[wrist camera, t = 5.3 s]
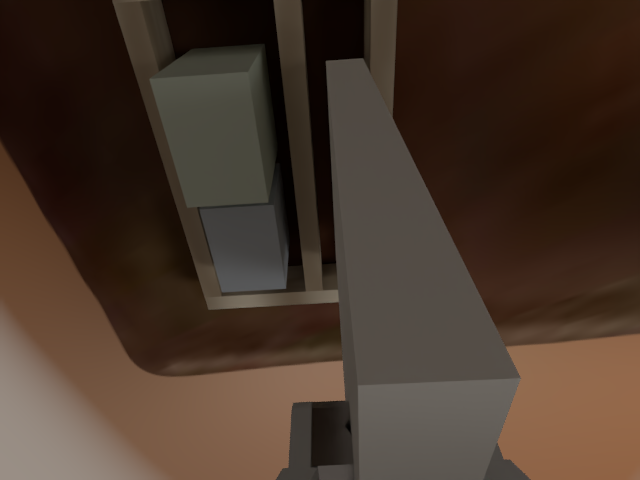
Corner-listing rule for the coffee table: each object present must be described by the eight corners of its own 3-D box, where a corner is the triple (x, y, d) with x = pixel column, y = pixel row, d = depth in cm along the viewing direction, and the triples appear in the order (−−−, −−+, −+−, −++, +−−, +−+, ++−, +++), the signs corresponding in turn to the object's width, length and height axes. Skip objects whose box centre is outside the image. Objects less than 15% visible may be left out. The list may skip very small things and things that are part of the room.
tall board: (362, 58, 19) (520, 378, 4) (363, 255, 26) (424, 637, 11) (325, 60, 19) (357, 385, 4) (335, 256, 26) (361, 639, 11)
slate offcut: (280, 162, 26) (273, 204, 21) (289, 238, 29) (285, 288, 25) (219, 166, 26) (199, 209, 21) (236, 241, 29) (222, 292, 25)
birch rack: (388, -50, 19) (399, -52, 17) (378, 272, 31) (384, 299, 28) (129, -30, 20) (102, -29, 17) (216, 282, 31) (208, 309, 29)
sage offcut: (264, 43, 22) (247, 71, 16) (278, 148, 25) (268, 202, 19) (192, 48, 22) (149, 78, 16) (215, 152, 25) (187, 207, 19)
